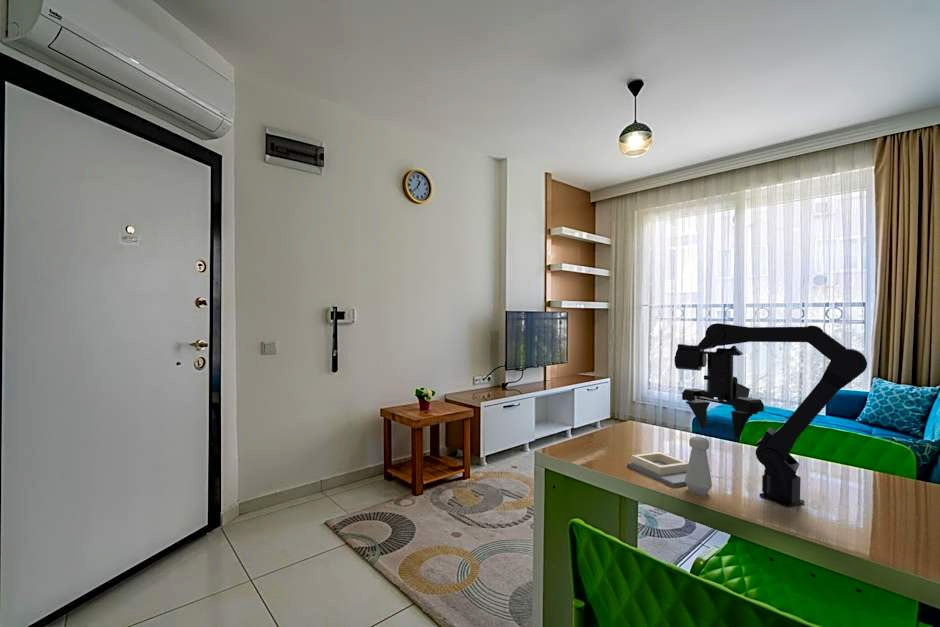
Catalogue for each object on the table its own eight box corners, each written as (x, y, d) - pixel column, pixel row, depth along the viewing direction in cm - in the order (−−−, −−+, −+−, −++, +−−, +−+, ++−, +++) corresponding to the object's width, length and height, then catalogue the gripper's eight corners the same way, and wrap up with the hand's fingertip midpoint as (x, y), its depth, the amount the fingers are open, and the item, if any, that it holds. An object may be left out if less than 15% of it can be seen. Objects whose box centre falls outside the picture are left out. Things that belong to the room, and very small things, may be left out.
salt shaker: (716, 497, 101) (717, 441, 101) (692, 496, 101) (693, 441, 101) (703, 487, 107) (704, 435, 107) (680, 486, 107) (681, 434, 107)
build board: (710, 481, 111) (711, 469, 111) (673, 487, 106) (674, 475, 106) (661, 461, 126) (661, 451, 126) (627, 466, 121) (627, 455, 121)
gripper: (778, 375, 104) (778, 440, 104) (709, 367, 121) (709, 423, 121) (747, 377, 100) (747, 444, 99) (680, 368, 117) (680, 426, 116)
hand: (719, 433), depth 109 cm, fingers open, 9 cm apart
